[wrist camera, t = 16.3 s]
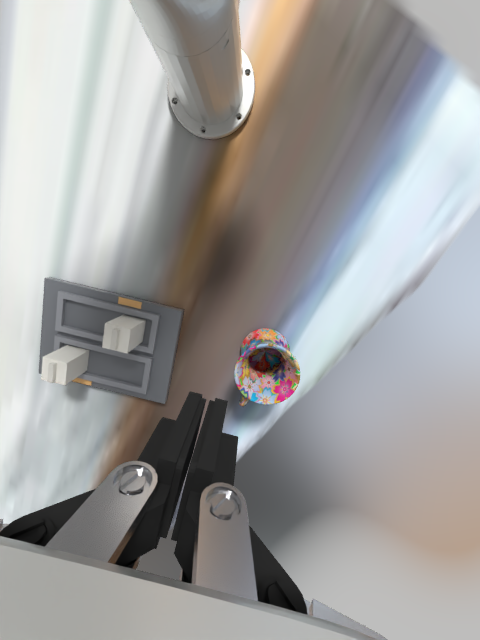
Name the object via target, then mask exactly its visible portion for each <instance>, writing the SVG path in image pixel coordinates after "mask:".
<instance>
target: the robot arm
mask: <svg viewBox="0 0 480 640" xmlns="http://www.w3.org/2000/svg"><path fill="white" fill-rule="evenodd" d="M129 1H130V3H131V5H132V7H133V9H134V11H135V13H136V15H137V17H138V19H139V21H140V23H141V25H142V27H143V29H144V31H145V33H146V35H147V37H148V39H149V41H150V43H151V45H152V47H153V49H154V51H155V53H156V55H157V57H158V59H159V61H160V63H161V65H162V66H163V68H164V70H165V72H166V74H167V76H168V82H167V90H168V98H169V101H170V105H171V108H172V110H173V112H174V114H175V116H176V117H177V119H178V121H179V122H180V123H181V124H182V126H183V127H184V128H185V129H187V130H188V131H189V132H190V133H192V134H194V135H196V136H198V137H201V138H205V139H218V138H223V137H225V136H228V135H230V134H231V133H233V132H235V131H236V130H237V129H238V128H239V127H240V126H241V125H242V124H243V123H244V121H245V120H246V119H247V117H248V115H249V113H250V111H251V108H252V105H253V102H254V95H255V79H254V72H253V69H252V65H251V63H250V61H249V59H248V57H247V55H246V53H245V52H244V51H243V49H242V48H241V39H240V26H239V13H238V9H239V4H240V0H129ZM247 75H249V76H247ZM175 103H177V104H175ZM238 118H241V119H240V120H238ZM203 131H205V133H203ZM205 402H206V399H204V398H202V394H198V393H194V392H189V395H188V397H187V399H186V401H185V403H184V405H183V407H182V409H181V411H180V414H179V416H178V418H177V420H176V421H175V420H171V419H168V418H164V417H163V418H162V419H161V420H160V422H159V423H158V425H157V427H156V429H155V431H154V432H153V434H152V436H151V438H150V439H149V441H148V443H147V445H146V446H145V448H144V450H143V452H142V453H141V455H140V457H139V459H138V460H137V461H130V462H125V463H123V464H121V465H119V466H117V467H116V468H115V469H114V470H113V471H112V472H111V473H110V474H109V475H108V476H107V477H106V478H105V479H104V481H103V482H102V483H101V484H100V485H99V486H98V487H97V488H96V489H94V490H91V491H89V492H86V493H83V494H81V495H78V496H76V497H73V498H70V499H68V500H65V501H62V502H60V503H57V504H54V505H52V506H49V507H46V508H44V509H41V510H39V511H36V512H33V513H31V514H28V515H25V516H23V517H21V518H19V519H17V520H15V521H13V522H12V523H10V524H3V519H0V640H387V639H386V638H385V637H383V636H382V635H380V634H378V633H377V632H375V631H373V630H371V629H369V628H367V627H365V626H364V625H362V624H360V623H358V622H356V621H354V620H352V619H351V618H349V617H347V616H345V615H343V614H341V613H339V612H337V611H336V610H334V609H332V608H330V607H328V606H326V605H325V604H323V603H321V602H319V601H317V600H315V599H313V600H312V602H309V601H307V600H305V599H304V598H303V595H302V594H301V592H300V590H299V589H298V587H297V586H296V585H295V583H294V582H293V581H292V579H291V578H290V577H289V575H288V574H287V573H286V572H285V570H284V569H283V568H282V567H281V565H280V564H279V563H278V561H277V560H276V559H275V558H274V556H273V555H272V554H271V553H270V551H269V550H268V549H267V548H266V546H265V545H264V544H263V542H262V541H261V540H260V538H259V537H258V536H257V535H256V533H255V532H254V531H253V529H252V528H251V527H250V526H249V522H248V514H247V506H246V502H245V498H244V497H243V495H242V494H241V492H240V491H239V490H238V489H236V488H235V487H233V486H234V476H235V465H236V455H237V445H238V437H237V436H233V435H230V434H226V433H222V428H223V423H224V418H225V413H226V407H227V402H228V401H225V400H221V399H217V398H216V399H215V401H211V400H210V402H209V405H208V408H207V411H206V414H205V418H204V421H203V424H202V427H201V430H200V434H199V437H198V440H197V443H196V446H195V442H196V438H197V434H198V430H199V426H200V422H201V418H202V414H203V410H204V406H205ZM194 446H195V450H194ZM193 450H194V453H193ZM192 454H193V456H192ZM191 458H192V459H191ZM190 461H191V463H190ZM189 464H190V466H189ZM188 467H189V470H188ZM187 471H188V474H187ZM186 474H187V478H186V482H185V486H184V490H183V494H182V498H181V502H180V506H179V510H178V514H177V518H176V522H175V526H174V530H173V534H172V538H171V539H172V540H175V541H177V544H176V548H175V552H174V554H175V556H176V558H177V559H178V562H179V564H180V565H181V567H182V569H181V573H180V578H179V581H178V580H174V579H170V578H166V577H162V576H159V575H154V574H151V573H146V572H143V571H139V570H136V568H137V567H138V564H139V562H140V559H141V556H142V555H144V554H145V553H147V552H149V551H150V550H152V549H154V548H155V549H156V548H157V545H158V542H159V539H160V537H163V538H166V537H167V534H168V531H169V528H170V525H171V521H172V518H173V515H174V512H175V509H176V506H177V502H178V499H179V496H180V493H181V490H182V486H183V483H184V480H185V477H186Z"/></svg>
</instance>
